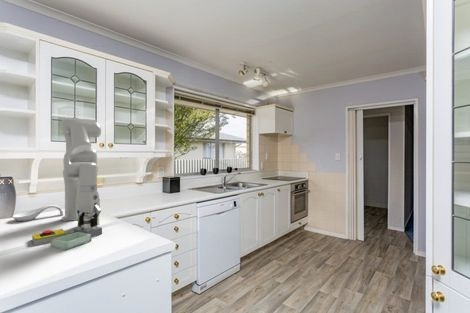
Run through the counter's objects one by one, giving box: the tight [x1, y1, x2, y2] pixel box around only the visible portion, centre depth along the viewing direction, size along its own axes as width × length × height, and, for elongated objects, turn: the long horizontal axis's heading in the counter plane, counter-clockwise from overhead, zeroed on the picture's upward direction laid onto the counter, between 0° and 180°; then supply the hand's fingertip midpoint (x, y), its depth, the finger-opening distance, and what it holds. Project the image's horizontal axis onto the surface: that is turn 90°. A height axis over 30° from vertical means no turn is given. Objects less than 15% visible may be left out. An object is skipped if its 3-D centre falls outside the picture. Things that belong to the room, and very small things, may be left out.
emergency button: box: [27, 228, 70, 247], centre depth 110 cm, size 9×4×15 cm
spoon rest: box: [12, 204, 64, 222], centre depth 146 cm, size 24×12×7 cm, turn 134°
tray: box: [51, 232, 92, 251], centre depth 104 cm, size 11×9×3 cm
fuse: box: [84, 215, 92, 231], centre depth 116 cm, size 4×4×9 cm
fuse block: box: [73, 225, 103, 238], centre depth 116 cm, size 7×10×4 cm
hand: (88, 225), depth 116 cm, fingers open, 7 cm apart
